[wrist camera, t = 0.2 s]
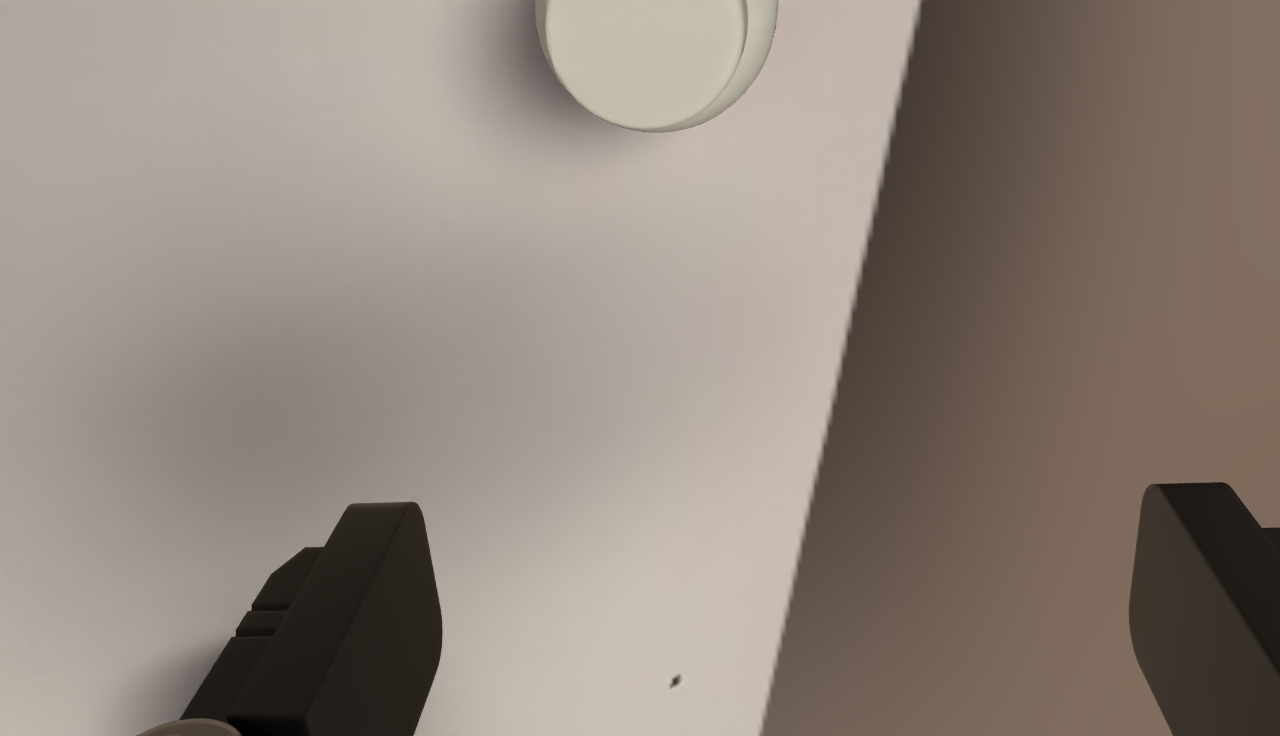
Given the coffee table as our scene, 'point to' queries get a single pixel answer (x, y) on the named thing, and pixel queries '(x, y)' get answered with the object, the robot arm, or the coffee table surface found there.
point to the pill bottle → (656, 56)
